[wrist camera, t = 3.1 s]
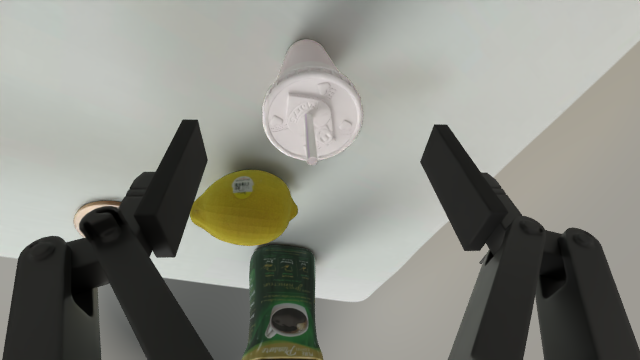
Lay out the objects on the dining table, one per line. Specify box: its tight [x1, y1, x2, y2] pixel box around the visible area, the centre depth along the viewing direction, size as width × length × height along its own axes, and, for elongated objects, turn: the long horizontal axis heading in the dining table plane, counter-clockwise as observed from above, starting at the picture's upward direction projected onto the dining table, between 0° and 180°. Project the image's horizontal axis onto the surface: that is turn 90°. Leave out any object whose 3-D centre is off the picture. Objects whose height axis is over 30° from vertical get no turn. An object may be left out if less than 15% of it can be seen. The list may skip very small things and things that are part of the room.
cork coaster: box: [74, 201, 121, 238], centre depth 38 cm, size 10×10×1 cm
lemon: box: [190, 170, 298, 246], centre depth 31 cm, size 11×8×8 cm
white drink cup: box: [262, 39, 363, 165], centre depth 20 cm, size 6×6×14 cm
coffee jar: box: [242, 245, 323, 360], centre depth 39 cm, size 10×8×19 cm
